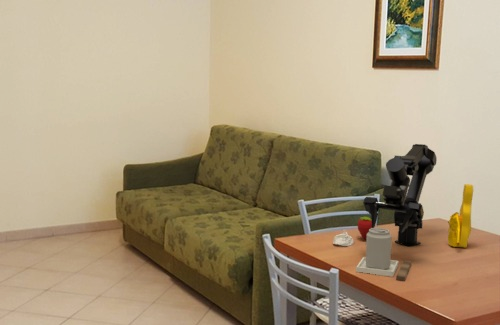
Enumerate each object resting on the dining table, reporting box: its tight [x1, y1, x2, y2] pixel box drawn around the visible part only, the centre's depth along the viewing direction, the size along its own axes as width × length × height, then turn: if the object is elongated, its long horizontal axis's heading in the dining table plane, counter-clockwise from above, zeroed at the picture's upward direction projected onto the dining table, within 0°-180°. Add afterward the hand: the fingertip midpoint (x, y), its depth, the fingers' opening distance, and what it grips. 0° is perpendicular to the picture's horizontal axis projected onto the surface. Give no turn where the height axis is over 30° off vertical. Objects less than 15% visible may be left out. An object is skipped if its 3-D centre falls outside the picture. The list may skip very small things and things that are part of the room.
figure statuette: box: [447, 184, 474, 249], centre depth 203 cm, size 18×8×22 cm, turn 170°
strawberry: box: [356, 216, 372, 240], centre depth 211 cm, size 6×8×10 cm
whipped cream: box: [332, 231, 354, 247], centre depth 205 cm, size 8×7×5 cm
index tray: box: [355, 256, 399, 278], centre depth 179 cm, size 11×11×2 cm
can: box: [365, 227, 393, 270], centre depth 178 cm, size 8×8×12 cm
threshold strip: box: [395, 260, 412, 282], centre depth 176 cm, size 16×2×1 cm, turn 158°
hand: (386, 229), depth 184 cm, fingers open, 9 cm apart
